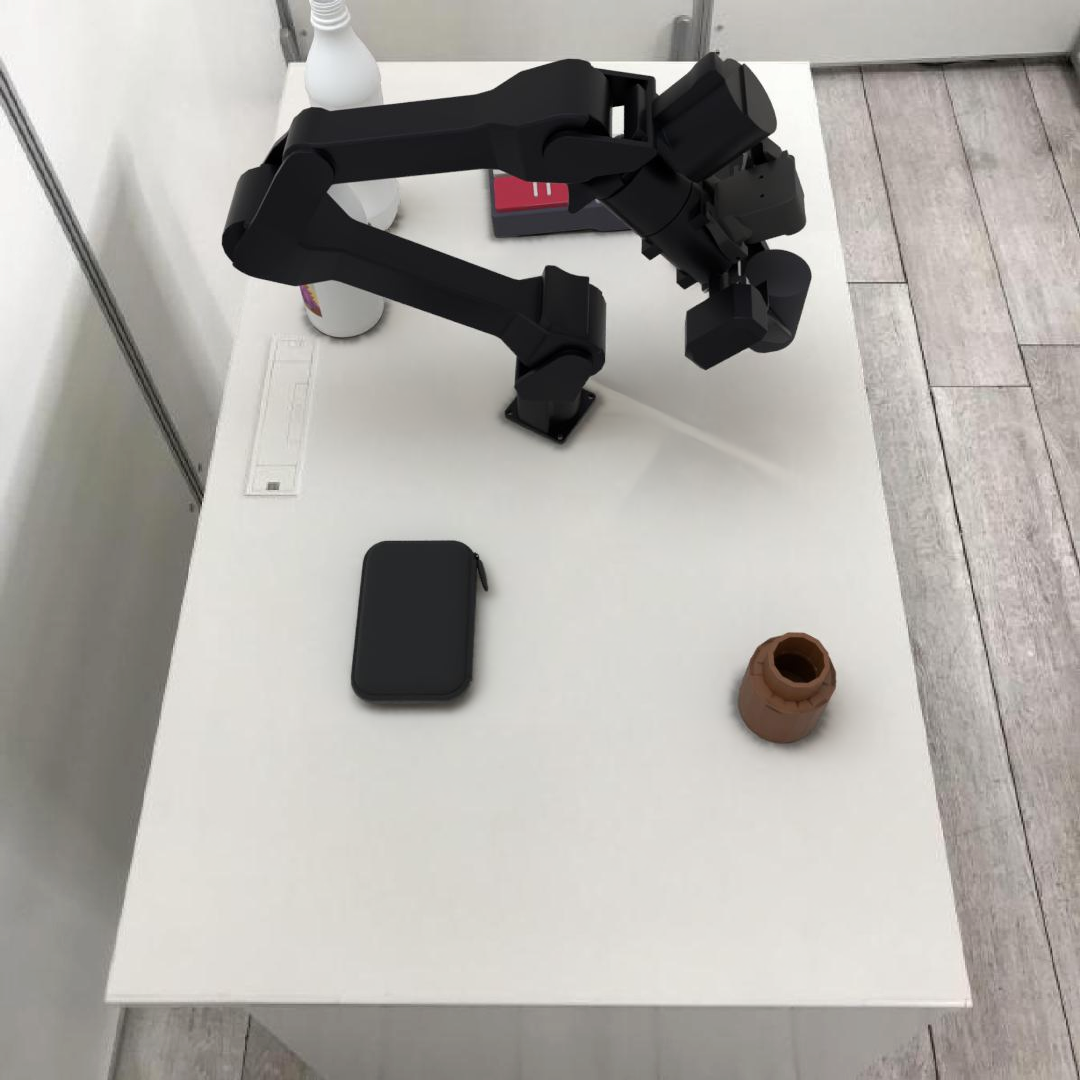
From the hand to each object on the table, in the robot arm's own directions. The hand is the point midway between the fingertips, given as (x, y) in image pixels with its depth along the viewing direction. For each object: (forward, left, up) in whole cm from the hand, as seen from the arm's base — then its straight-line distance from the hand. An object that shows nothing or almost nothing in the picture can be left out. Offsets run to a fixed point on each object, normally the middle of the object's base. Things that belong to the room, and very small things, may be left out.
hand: (785, 314), depth 88 cm
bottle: (-25, -14, -14) cm, 32 cm away
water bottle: (+3, +47, -14) cm, 49 cm away
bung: (-1, +1, -3) cm, 4 cm away
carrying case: (-34, +14, -14) cm, 39 cm away
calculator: (+16, +31, -14) cm, 38 cm away
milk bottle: (-9, +41, -14) cm, 44 cm away
